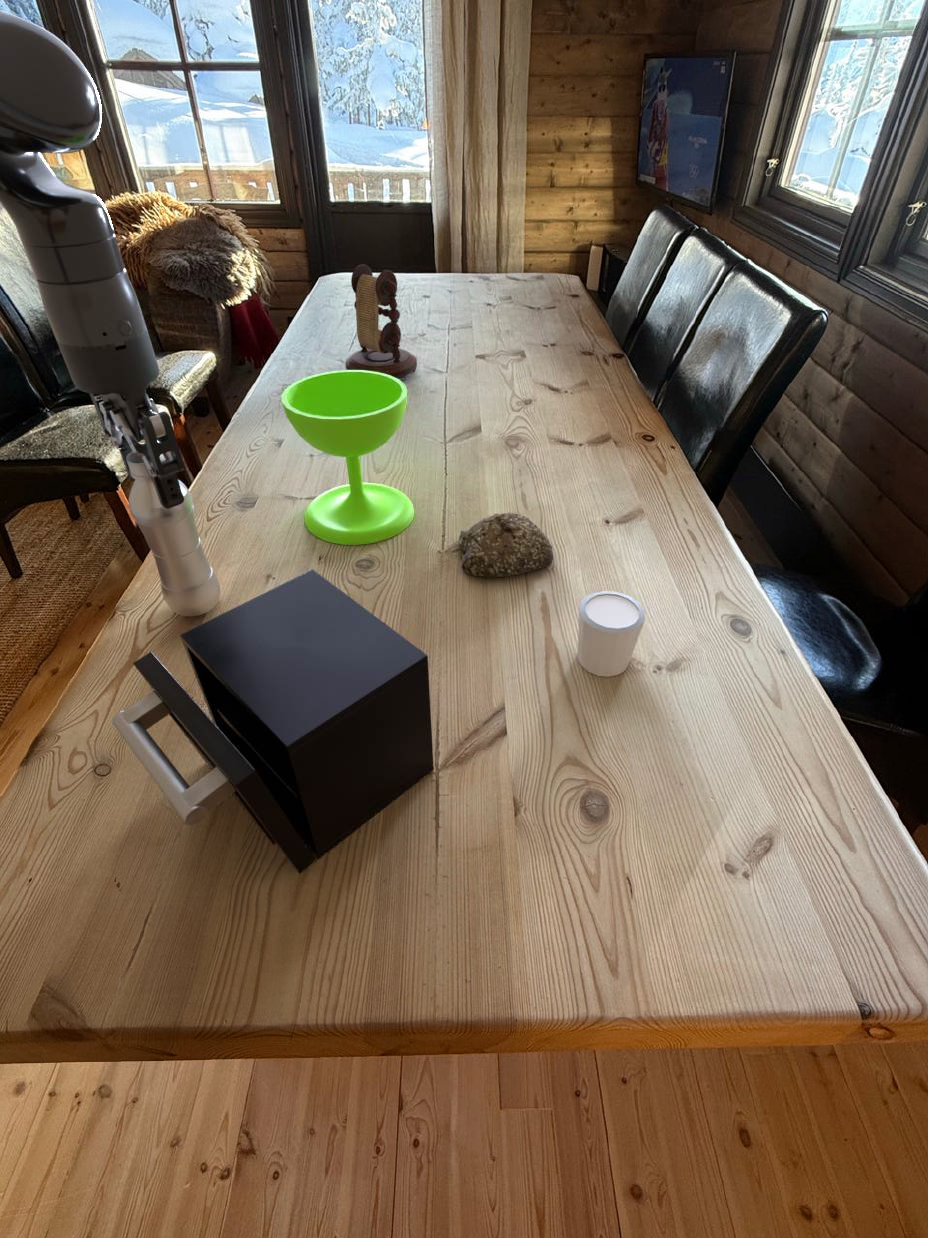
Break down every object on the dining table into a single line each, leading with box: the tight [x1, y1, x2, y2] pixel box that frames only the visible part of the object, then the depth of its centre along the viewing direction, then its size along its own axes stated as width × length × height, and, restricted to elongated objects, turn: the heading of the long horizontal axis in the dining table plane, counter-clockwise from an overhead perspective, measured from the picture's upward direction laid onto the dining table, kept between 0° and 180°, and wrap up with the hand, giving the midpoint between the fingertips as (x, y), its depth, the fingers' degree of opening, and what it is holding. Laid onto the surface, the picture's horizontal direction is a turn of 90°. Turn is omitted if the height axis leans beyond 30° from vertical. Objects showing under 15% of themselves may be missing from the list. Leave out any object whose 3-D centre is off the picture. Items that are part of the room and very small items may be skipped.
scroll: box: [344, 264, 418, 379], centre depth 131 cm, size 15×15×20 cm
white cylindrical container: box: [577, 590, 646, 678], centre depth 71 cm, size 7×7×7 cm
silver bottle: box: [126, 452, 221, 617], centre depth 74 cm, size 6×7×20 cm
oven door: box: [111, 651, 316, 874], centre depth 53 cm, size 5×16×15 cm, turn 44°
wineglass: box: [281, 369, 416, 546], centre depth 90 cm, size 16×16×18 cm
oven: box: [179, 568, 435, 860], centre depth 58 cm, size 13×16×15 cm
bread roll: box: [457, 512, 554, 578], centre depth 87 cm, size 13×12×5 cm
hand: (157, 491), depth 70 cm, fingers open, 7 cm apart
